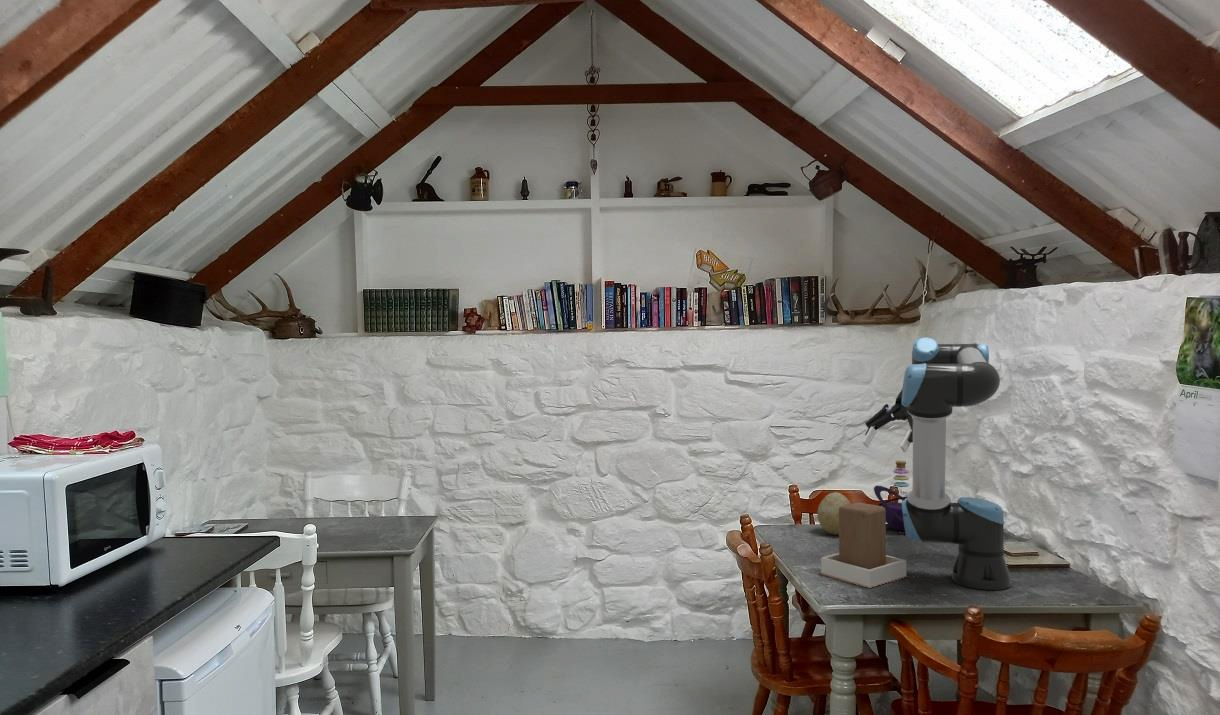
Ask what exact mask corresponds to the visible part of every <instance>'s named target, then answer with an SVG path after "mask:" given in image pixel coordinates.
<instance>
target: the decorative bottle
mask: <svg viewBox="0 0 1220 715" xmlns="http://www.w3.org/2000/svg"><path fill="white" fill-rule="evenodd" d="M895 464H896V466H895V469H893V471H892V472H893V473H894V474H896V475H895V476H893V480H894V481H896V482H894V483H893V486H894V487H897V488H906V487H907V488H908V487H909V486H910V485H909V484H908V482H905V481H908V480H909V479H910V478H909V477H908V476H907V475H906V474H909V473H910V471H909V470H908V469H906V464H907V462H906V460H899V459H898V460H896V461H895ZM897 474H899V475H897ZM904 474H905V475H904ZM873 491H874V494H875V496H876V498H877V500H878V501H879V502H880V503H879V504H877V505H876V506H882V507H884V508H885V510H886V525H888V526H889V527H890V528H891V529H893V530H894V531H896V532H902V531H901V530H904V531H903V532H905V527H904V521H903V512H902V501H903V500H907V496H901V495H900V494H898V493H897V492H895V491H894V490H892V489H890V488H888V487H886V486H882V485H875V486H874V487H873ZM881 492H887V493H890V495H891V494H892V495H894V496H895V498H891V499H887V500H886V501H885V500H884V499H883V497H882V495H881ZM898 500H901V502H894V501H898Z"/></svg>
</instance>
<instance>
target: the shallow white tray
mask: <svg viewBox="0 0 1220 715" xmlns="http://www.w3.org/2000/svg"><path fill="white" fill-rule="evenodd" d="M820 561H821V562H820V564H821V566H820V567H821V569H820V572H821V575H822V576H825V577H829V578H833V579H836V580H838V579H839V581H842V582H846V583H850V584H852V583H854V584H853V585H855V584H856V585H855V586H859V585H860V586H859V587H862V586H863V587H862V588H865V587H868V588H867V589H869V588H872V587H875V586H878V585H881V586H883V585H882V584H884V585H886V584H885V583H887V584H889V583H888V582H890V583H892V582H891V581H893V582H896V581H895V580H897V579H900V580H902V579H901V578H903V579H905V578H904V577H906V578H907V560H906V559H903V558H900V557H899V558H898V557H895V556H892V555H887V554H886V565H883V566H880V567H876V568H873V569H870V570H869V569H865V568H861V567H858V566H854V565H850V564H847V563H843V562H840V561H839V552H838V553H834V554H830V555H826V556H823V557H821V558H820ZM897 581H898V580H897ZM878 587H879V586H878ZM875 588H876V587H875ZM872 589H873V588H872Z"/></svg>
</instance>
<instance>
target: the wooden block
mask: <svg viewBox="0 0 1220 715" xmlns="http://www.w3.org/2000/svg"><path fill="white" fill-rule="evenodd" d="M886 528H887V523H886V510H885V508H884V507H882V506H877V505H876V504H869V503H866V502H865V503H864V502H860V501H858V502H853V503H851V504H849V505H844V506H841V507H839V535H838V553H839V561H840V562H843V563H847V564H850V565H854V566H858V567H861V568H865V569H869V570H870V569H873V568H876V567H880V566H883V565H886V555H887V535H886V534H887V532H886V531H887V530H886Z"/></svg>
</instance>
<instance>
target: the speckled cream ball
mask: <svg viewBox="0 0 1220 715" xmlns="http://www.w3.org/2000/svg"><path fill="white" fill-rule="evenodd" d="M849 504H852V503H851V501H850V500H849V498H848V497H846V496H845V495H844V494H842V493H840V492H837V491H835V492H830V493H828V494H827V495H825V497H823V499H822V500H821V501H820V503H819V505H818V509H817V521H818V523H819V524H820V527H821V528H822V529H823V530H824V531H826V533H828V534H830V535H834V536H839V507H841V506H844V505H849Z"/></svg>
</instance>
